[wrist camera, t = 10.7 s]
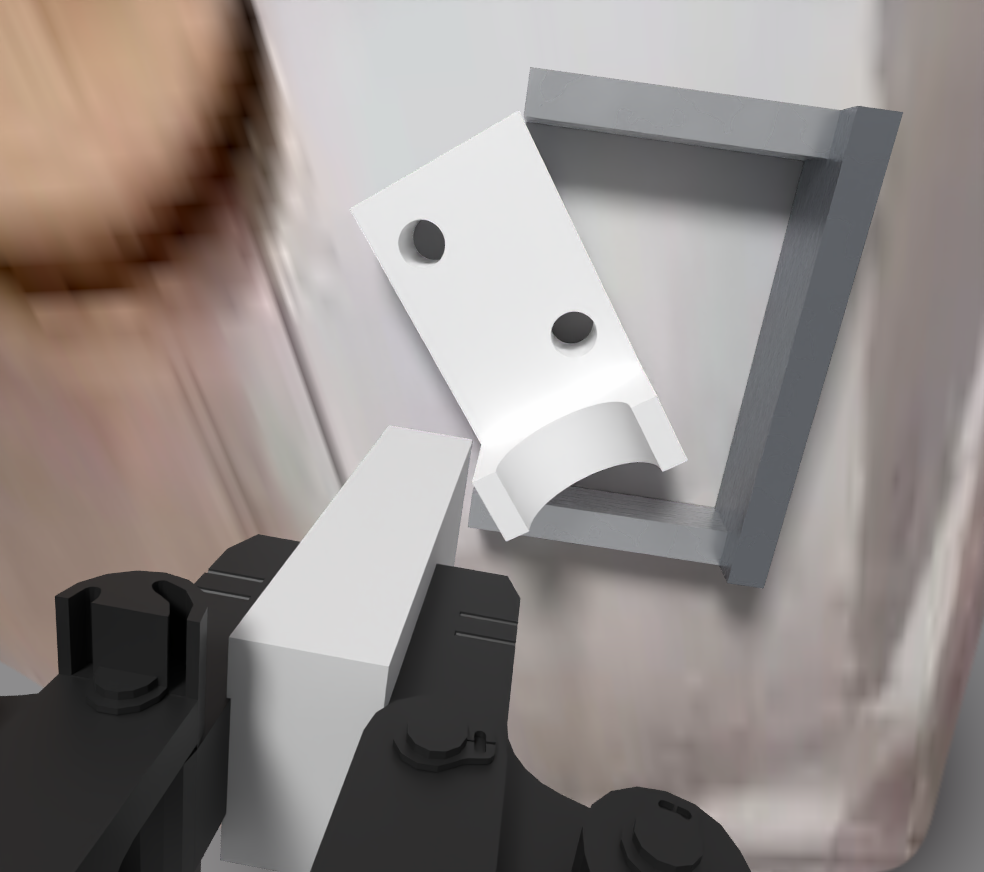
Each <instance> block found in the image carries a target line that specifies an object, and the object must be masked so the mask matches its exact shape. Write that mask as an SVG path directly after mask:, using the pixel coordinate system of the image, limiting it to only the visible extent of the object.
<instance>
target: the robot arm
mask: <svg viewBox="0 0 984 872" xmlns="http://www.w3.org/2000/svg"><path fill="white" fill-rule="evenodd" d="M472 441H473V440H472V439H466V438H461V437H455V436H449V435H443V434H437V433H432V432H426V431H420V430H414V429H408V428H402V427H397V426H391V425H389V426H388V427H387V429H386V430H385V431H384V433H383V434H382V435H381V437H380V438H379V439H378V441H377V442H376V443H375V444H374V446H373V447H372V448H371V450H370V451H369V452H368V454H367V455H366V456H365V458H364V459H363V460H362V462H361V463H360V464H359V466H358V467H357V468H356V470H355V471H354V472H353V474H352V475H351V476H350V478H349V479H348V480H347V482H346V483H345V484H344V485H343V487H342V488H341V489H340V491H339V492H338V493H337V495H336V496H335V497H334V499H333V500H332V501H331V503H330V504H329V505H328V507H327V508H326V509H325V511H324V512H323V513H322V515H321V516H320V517H319V519H318V520H317V521H316V522H315V524H314V525H313V526H312V528H311V529H310V530H309V532H308V533H307V534H306V536H305V537H304V538H303V540H302V541H301V542H298V541H293V540H287V539H281V538H276V537H270V536H265V535H259V534H258V535H256V536H254V537H251V538H249V539H247V540H245V541H243V542H241V543H239V544H236V545H234V546H232V547H230V548H228V549H227V550H226V551H225V552H224V553H223V554H222V555H221V556H220V557H219V558H218V559H217V560H216V561H215V563H214V564H213V565H212V566H211V567H210V568H209V570H208V573H204V574H203V575H202V576H201V577H200V578H199V579H198V580H197V581H196V583H195V584H193V583H192V582H191V581H189V580H187V579H184V578H181V577H178V576H174V575H171V574H168V573H163V572H149V571H130V572H121V573H112V574H105V575H102V576H99V577H96V578H92V579H89V580H86V581H82V582H79V583H77V584H75V585H73V586H72V587H70V588H68V589H66V590H65V591H63V592H61V593H59V594H58V595H56V596H55V608H56V628H57V648H58V668H59V674H58V675H57V676H56V677H55V678H54V679H53V680H52V681H51V682H50V683H49V684H48V685H47V686H46V687H45V688H43V689H42V690H41V691H40V692H39V693H38V694H29V695H18V696H0V872H201V871H200V870H201V859H202V857H203V856H204V853H205V852H206V850H207V848H208V846H209V844H210V843H211V841H212V839H213V837H214V835H215V833H216V831H217V830H218V828H219V826H220V824H221V822H222V828H221V854H220V857H221V858H220V860H222V861H227V862H232V863H237V864H242V865H247V866H252V867H257V868H262V869H267V870H272V871H277V872H751V871H750V869H749V867H748V865H747V863H746V861H745V859H744V857H743V855H742V854H741V852H740V850H739V849H738V847H737V846H736V845H735V843H734V842H733V841H732V839H731V838H730V837H729V835H728V834H727V832H726V831H725V830H724V828H723V827H722V826H721V825H720V824H719V823H718V822H717V821H715V820H714V819H713V818H712V817H710V816H709V815H708V814H706V813H705V812H704V811H703V810H701V809H700V808H699V807H698V806H696V805H695V804H693V803H691V802H689V801H686V800H684V799H682V798H680V797H677V796H675V795H673V794H671V793H669V792H666V791H661V790H655V789H648V788H642V787H632V788H626V789H621V790H615V791H611V792H609V793H608V794H606V795H605V796H604V797H602V798H601V799H599V800H598V801H596V802H595V803H594V804H592V806H591V808H588V807H586V806H584V805H582V804H580V803H578V802H576V801H574V800H572V799H569V798H567V797H565V796H563V795H561V794H559V793H558V792H556V791H554V790H553V789H551V788H549V787H547V786H546V785H544V784H542V783H541V782H540V781H539V780H538V779H536V778H535V777H534V776H533V775H532V774H531V773H530V772H528V771H527V770H526V769H525V768H524V766H523V765H522V764H521V762H520V761H519V759H518V758H517V757H516V755H515V754H514V752H513V749H512V747H511V744H510V742H509V739H508V729H507V720H508V711H509V701H510V692H511V682H512V673H513V663H514V654H515V643H516V635H517V624H518V616H519V607H520V597H519V595H518V594H517V592H516V590H515V588H514V587H513V585H512V583H511V581H510V580H509V578H508V576H503V575H498V574H492V573H486V572H481V571H475V570H470V569H464V568H458V567H454V562H455V555H456V548H457V542H458V535H459V528H460V521H461V515H462V508H463V501H464V495H465V488H466V481H467V474H468V468H469V461H470V454H471V448H472Z"/></svg>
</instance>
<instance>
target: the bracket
mask: <svg viewBox="0 0 984 872" xmlns="http://www.w3.org/2000/svg"><path fill="white" fill-rule="evenodd" d="M350 211H351V213H352V215H353V217H354V218H355V220H356V222H357V224H358V225H359V227H360V229H361V231H362V233H363V234H364V236H365V238H366V240H367V242H368V243H369V245H370V247H371V249H372V250H373V252H374V254H375V256H376V258H377V259H378V261H379V263H380V265H381V267H382V268H383V270H384V272H385V274H386V275H387V277H388V279H389V281H390V283H391V284H392V286H393V288H394V290H395V291H396V293H397V295H398V297H399V299H400V300H401V302H402V304H403V306H404V308H405V309H406V311H407V313H408V315H409V316H410V318H411V320H412V322H413V324H414V325H415V327H416V329H417V331H418V333H419V334H420V336H421V338H422V340H423V341H424V343H425V345H426V347H427V349H428V350H429V352H430V354H431V356H432V358H433V359H434V361H435V363H436V365H437V366H438V368H439V370H440V372H441V374H442V375H443V377H444V379H445V381H446V383H447V384H448V386H449V388H450V390H451V391H452V393H453V395H454V397H455V399H456V400H457V402H458V404H459V406H460V407H461V409H462V411H463V413H464V415H465V416H466V418H467V420H468V422H469V424H470V425H471V427H472V429H473V431H474V432H475V434H476V436H477V438H478V440H479V441H480V443H481V449H480V453H479V457H478V461H477V465H476V469H475V473H474V477H473V481H472V483H473V485H474V487H475V488H476V490H477V492H478V494H479V495H480V497H481V499H482V501H483V502H484V504H485V506H486V508H487V509H488V511H489V513H490V515H491V516H492V518H493V520H494V522H495V523H496V525H497V527H498V529H499V530H500V532H501V534H502V536H503V537H504V539H505V541H509V540H511V539H513V538H515V537H518V536H520V535H522V534H524V533H527V532H529V529H530V525H531V523H532V521H533V519H534V517H535V516H536V514H537V513H538V512H539V511H540V510H541V508H542V507H543V506H544V505H545V504H546V503H547V502H549V501H550V500H551V499H552V498H553V497H555V496H556V495H557V494H558V493H560V492H561V491H563V490H564V489H566V488H567V487H569V486H570V485H572V484H574V483H575V482H577V481H579V480H581V479H583V478H585V477H587V476H589V475H591V474H593V473H596V472H598V471H601V470H604V469H606V468H610V467H613V466H617V465H621V464H625V463H632V462H647V463H652V464H654V465H656V466H658V467H659V468H660V469H661V470H662V472H663V471H666V470H668V469H670V468H672V467H675V466H677V465H679V464H681V463H684V462H686V461H688V460H687V457H686V455H685V453H684V451H683V449H682V447H681V445H680V443H679V441H678V439H677V437H676V434H675V432H674V430H673V428H672V426H671V424H670V422H669V420H668V418H667V416H666V414H665V411H664V409H663V407H662V405H661V403H660V401H659V399H658V397H657V395H656V393H655V391H654V389H653V387H652V385H651V383H650V382H649V380H648V378H647V376H646V374H645V372H644V370H643V368H642V366H641V364H640V362H639V360H638V358H637V356H636V354H635V352H634V350H633V348H632V345H631V343H630V341H629V339H628V337H627V335H626V333H625V331H624V329H623V327H622V325H621V322H620V320H619V318H618V316H617V314H616V312H615V310H614V308H613V306H612V304H611V302H610V299H609V297H608V295H607V293H606V291H605V289H604V287H603V285H602V283H601V281H600V279H599V277H598V274H597V272H596V270H595V268H594V266H593V264H592V262H591V260H590V258H589V256H588V254H587V251H586V249H585V247H584V245H583V243H582V241H581V239H580V237H579V235H578V233H577V231H576V229H575V226H574V224H573V222H572V220H571V218H570V216H569V214H568V212H567V210H566V208H565V206H564V203H563V201H562V199H561V197H560V195H559V193H558V191H557V189H556V187H555V185H554V183H553V180H552V178H551V176H550V174H549V172H548V170H547V168H546V166H545V164H544V162H543V160H542V158H541V155H540V153H539V151H538V149H537V147H536V145H535V143H534V141H533V139H532V137H531V135H530V132H529V130H528V128H527V126H526V124H525V122H524V120H523V118H522V116H521V114H520V112H519V110H518V111H517V112H515V113H513V114H511V115H510V116H508V117H506V118H505V119H503V120H501V121H499V122H498V123H496V124H494V125H493V126H491V127H489V128H487V129H486V130H484V131H482V132H480V133H479V134H477V135H475V136H474V137H472V138H470V139H468V140H467V141H465V142H463V143H462V144H460V145H458V146H456V147H455V148H453V149H451V150H450V151H448V152H446V153H444V154H443V155H441V156H439V157H438V158H436V159H434V160H432V161H431V162H429V163H427V164H426V165H424V166H422V167H420V168H419V169H417V170H415V171H414V172H412V173H410V174H408V175H407V176H405V177H403V178H402V179H400V180H398V181H396V182H395V183H393V184H391V185H390V186H388V187H386V188H384V189H383V190H381V191H379V192H377V193H376V194H374V195H372V196H371V197H369V198H367V199H365V200H364V201H362V202H360V203H359V204H357V205H355V206H353V207H352V208H350ZM421 220H428V221H430V222H432V223H434V224H435V225H437V226H438V227H439V229H440V230H441V231H442V233H443V236H444V239H445V250H444V254H443V256H442V258H441V259H439V260H431V259H427V258H425V257H423V256H422V255H421V254H420V253H419V252H418V251H417V249H416V248H415V245H414V242H413V233H414V229H415V227H416V225H417V224H418V223H419V222H420V221H421ZM568 312H581V313H584V314H586V315H587V316H589V317H590V318H591V319H592V320H593V326H592V330H591V332H590V334H589V335H588V336H587V337H586V338H585V339H584V340H582V341H580V342H578V343H572V344H571V343H565V342H562V341H560V340H559V339H557V338H556V337H555V335H554V334H553V332H552V330H551V329H552V326H553V324H554V322H555V321H556V320H557V319H558V318H559V317H560V316H561V315H563V314H565V313H568Z"/></svg>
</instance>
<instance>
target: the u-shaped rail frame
mask: <svg viewBox="0 0 984 872" xmlns="http://www.w3.org/2000/svg"><path fill="white" fill-rule="evenodd" d="M902 114H903V112H898V111H891V110H883V109H876V108H869V107H862V106H856V107H852V108H848V109H844V110H835V109H828V108H821V107H813V106H806V105H799V104H792V103H785V102H777V101H770V100H763V99H756V98H749V97H741V96H734V95H727V94H720V93H713V92H705V91H698V90H691V89H684V88H677V87H669V86H662V85H655V84H648V83H640V82H633V81H626V80H619V79H612V78H604V77H597V76H590V75H583V74H576V73H568V72H561V71H554V70H547V69H540V68H532V67H530V74H529V81H528V89H527V96H526V103H525V111H524V118H525V122H532V123H539V124H546V125H553V126H560V127H568V128H575V129H582V130H589V131H596V132H603V133H610V134H617V135H625V136H632V137H639V138H646V139H653V140H660V141H667V142H674V143H682V144H689V145H696V146H703V147H710V148H717V149H724V150H731V151H739V152H746V153H753V154H760V155H767V156H774V157H781V158H788V159H796V160H803V161H804V164H803V168H802V172H801V176H800V180H799V184H798V188H797V192H796V195H795V199H794V203H793V207H792V211H791V215H790V219H789V223H788V226H787V230H786V234H785V238H784V242H783V246H782V250H781V254H780V258H779V261H778V265H777V269H776V273H775V277H774V281H773V285H772V289H771V293H770V296H769V300H768V304H767V308H766V312H765V316H764V320H763V324H762V327H761V331H760V335H759V339H758V343H757V347H756V351H755V355H754V359H753V362H752V366H751V370H750V374H749V378H748V382H747V386H746V390H745V394H744V397H743V401H742V405H741V409H740V413H739V417H738V421H737V425H736V428H735V432H734V436H733V440H732V444H731V448H730V452H729V456H728V460H727V463H726V467H725V471H724V475H723V479H722V483H721V487H720V491H719V494H718V498H717V502H716V506H715V508H713V507H706V506H700V505H693V504H686V503H680V502H673V501H666V500H660V499H653V498H646V497H640V496H633V495H626V494H620V493H613V492H606V491H600V490H593V489H586V488H580V487H573V486H569V487H567V488H566V489H564V490H563V491H561V492H560V493H558V494H557V495H556V496H555V497H553V498H552V499H551V500H550V501H549V502H547V503H546V504H545V505H544V506H543V507H542V508H541V510H540V511H539V512H538V513H537V514H536V516H535V517H534V519H533V521H532V523H531V525H530V529H529V532H527V533H524V534H522V535H523V536H530V537H536V538H543V539H549V540H556V541H563V542H569V543H576V544H582V545H589V546H596V547H602V548H609V549H615V550H622V551H629V552H635V553H642V554H648V555H655V556H662V557H668V558H675V559H681V560H688V561H695V562H701V563H708V564H714V565H719V566H720V568H721V570H722V572H723V575H724V577H725V579H726V581H727V583H731V584H737V585H744V586H751V587H757V588H764V585H765V582H766V578H767V575H768V571H769V568H770V565H771V561H772V558H773V554H774V551H775V548H776V544H777V541H778V537H779V534H780V530H781V527H782V524H783V520H784V517H785V513H786V510H787V507H788V503H789V500H790V496H791V493H792V490H793V486H794V483H795V479H796V476H797V472H798V469H799V466H800V462H801V459H802V455H803V452H804V449H805V445H806V442H807V438H808V435H809V432H810V428H811V425H812V421H813V418H814V414H815V411H816V408H817V404H818V401H819V397H820V394H821V391H822V387H823V384H824V380H825V377H826V374H827V370H828V367H829V363H830V360H831V356H832V353H833V350H834V346H835V343H836V339H837V336H838V333H839V329H840V326H841V322H842V319H843V316H844V312H845V309H846V305H847V302H848V298H849V295H850V292H851V288H852V285H853V281H854V278H855V275H856V271H857V268H858V264H859V261H860V258H861V254H862V251H863V247H864V244H865V240H866V237H867V234H868V230H869V227H870V223H871V220H872V217H873V213H874V210H875V206H876V203H877V200H878V196H879V193H880V189H881V186H882V182H883V179H884V176H885V172H886V169H887V165H888V162H889V159H890V155H891V152H892V148H893V145H894V142H895V138H896V135H897V131H898V128H899V124H900V121H901V118H902ZM468 527H470V528H477V529H483V530H490V531H497V532H500V530H499V529H498V527H497V525H496V523H495V522H494V520H493V518H492V516H491V515H490V513H489V511H488V509H487V508H486V506H485V504H484V502H483V501H482V499H481V497H480V495H479V494H478V492H477V490H476V488H475V487H474V488H473V493H472V499H471V507H470V514H469V521H468Z"/></svg>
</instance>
